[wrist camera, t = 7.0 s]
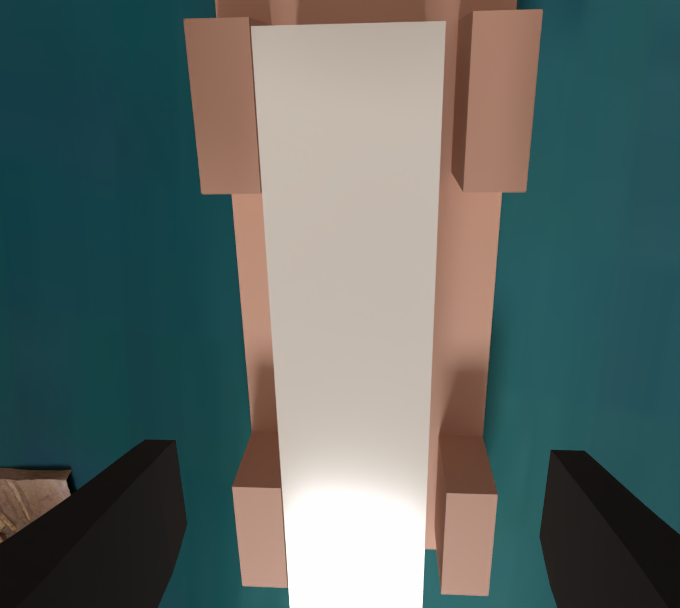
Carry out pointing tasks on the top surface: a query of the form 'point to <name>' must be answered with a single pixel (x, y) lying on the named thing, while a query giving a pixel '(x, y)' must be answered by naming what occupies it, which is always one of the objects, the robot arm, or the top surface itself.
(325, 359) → the strip
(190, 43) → the rack
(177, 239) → the top surface
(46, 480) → the wooden fragment
